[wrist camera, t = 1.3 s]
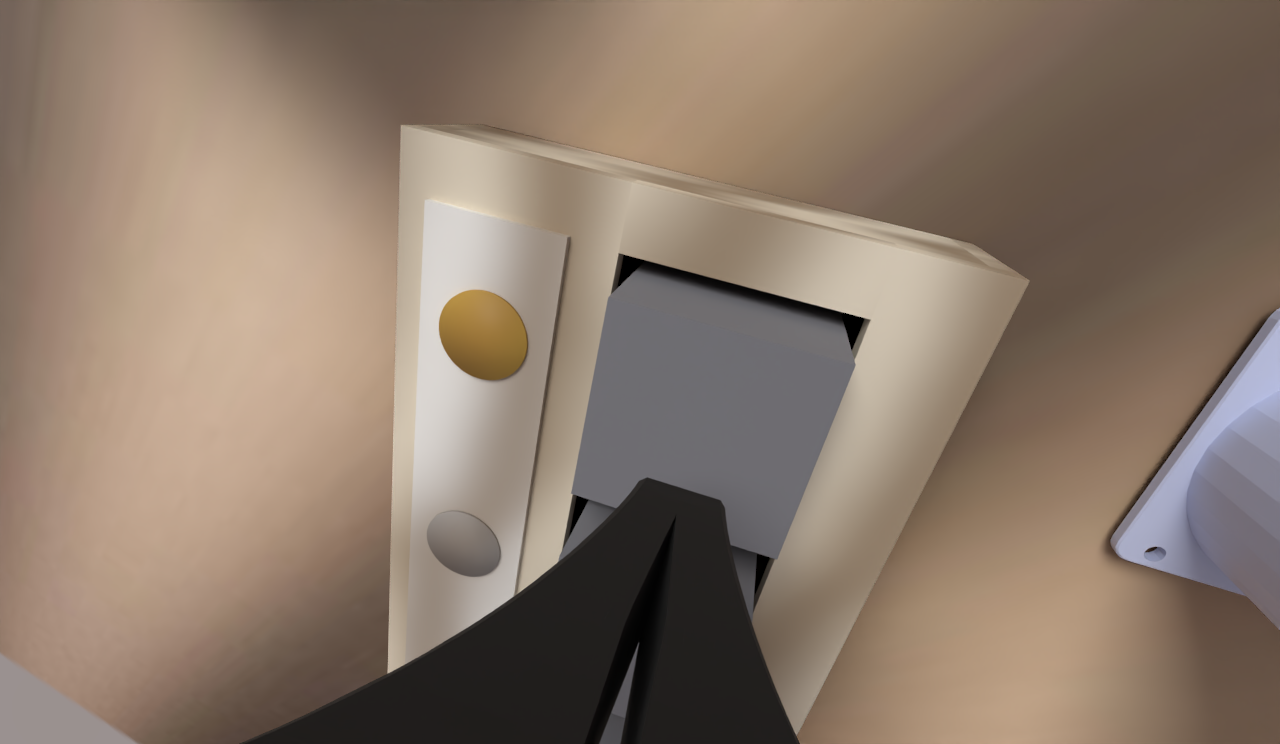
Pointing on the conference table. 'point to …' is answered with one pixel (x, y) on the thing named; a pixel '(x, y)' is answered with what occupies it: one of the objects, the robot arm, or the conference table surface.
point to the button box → (566, 356)
